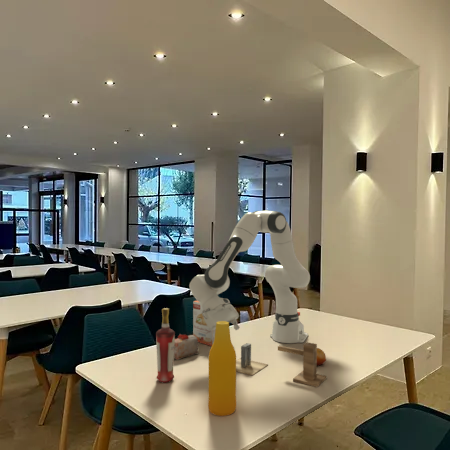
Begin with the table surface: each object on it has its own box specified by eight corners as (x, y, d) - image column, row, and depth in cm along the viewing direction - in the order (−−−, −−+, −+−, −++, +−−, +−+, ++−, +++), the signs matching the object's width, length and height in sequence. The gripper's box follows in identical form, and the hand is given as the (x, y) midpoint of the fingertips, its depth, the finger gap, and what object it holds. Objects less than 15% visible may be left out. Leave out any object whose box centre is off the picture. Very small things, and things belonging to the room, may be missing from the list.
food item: (176, 361, 179) (176, 339, 178) (165, 357, 184) (166, 335, 184) (199, 354, 188) (200, 333, 188) (189, 350, 194) (189, 330, 194)
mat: (240, 358, 182) (240, 358, 182) (267, 365, 174) (267, 364, 174) (223, 368, 170) (223, 367, 170) (252, 375, 162) (252, 374, 162)
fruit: (310, 355, 183) (318, 342, 180) (323, 368, 178) (331, 355, 175) (299, 359, 177) (307, 346, 174) (312, 373, 172) (321, 359, 169)
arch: (246, 363, 175) (247, 343, 175) (250, 364, 174) (251, 343, 174) (241, 367, 171) (241, 346, 170) (245, 368, 169) (245, 346, 169)
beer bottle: (203, 413, 130) (204, 324, 130) (214, 401, 139) (214, 318, 139) (230, 418, 127) (230, 327, 127) (239, 406, 136) (240, 320, 135)
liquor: (157, 376, 161) (158, 306, 161) (176, 376, 161) (176, 307, 160) (154, 384, 154) (154, 311, 153) (173, 384, 154) (173, 311, 153)
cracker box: (192, 341, 208) (192, 300, 208) (200, 338, 213) (201, 299, 212) (211, 347, 199) (211, 304, 198) (220, 344, 203) (220, 303, 203)
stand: (283, 368, 170) (283, 335, 170) (326, 378, 160) (326, 343, 160) (273, 376, 162) (273, 341, 162) (317, 387, 152) (317, 350, 151)
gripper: (204, 306, 171) (223, 333, 166) (230, 298, 188) (248, 322, 183) (196, 315, 173) (214, 342, 168) (222, 306, 191) (239, 330, 185)
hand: (232, 331), depth 176 cm, fingers open, 8 cm apart
